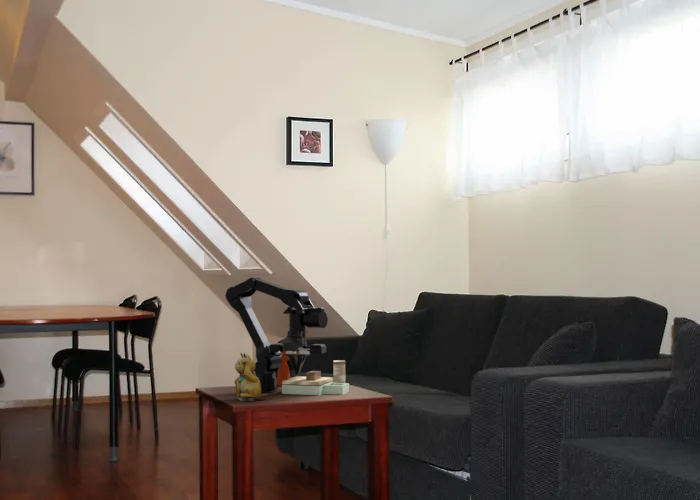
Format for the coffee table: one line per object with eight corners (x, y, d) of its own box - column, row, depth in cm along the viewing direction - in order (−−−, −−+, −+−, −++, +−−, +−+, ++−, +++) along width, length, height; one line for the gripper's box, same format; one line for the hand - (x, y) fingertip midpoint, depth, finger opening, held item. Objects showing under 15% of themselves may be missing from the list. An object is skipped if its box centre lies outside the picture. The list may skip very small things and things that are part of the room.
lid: (282, 384, 279) (282, 373, 279) (297, 379, 293) (297, 368, 293) (319, 385, 275) (319, 374, 276) (333, 380, 289) (333, 369, 289)
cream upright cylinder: (333, 390, 293) (333, 361, 294) (333, 389, 297) (333, 360, 298) (345, 390, 293) (345, 361, 294) (345, 389, 298) (345, 360, 298)
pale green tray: (282, 396, 279) (282, 384, 279) (297, 391, 293) (297, 379, 293) (339, 398, 273) (339, 387, 274) (352, 393, 287) (351, 381, 287)
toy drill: (326, 381, 308) (320, 340, 308) (274, 388, 307) (268, 347, 307) (325, 379, 312) (320, 339, 313) (274, 386, 312) (269, 345, 312)
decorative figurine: (231, 398, 276) (231, 351, 276) (256, 396, 279) (256, 350, 280) (240, 402, 267) (240, 354, 268) (265, 400, 271) (265, 353, 271)
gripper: (262, 328, 281) (262, 376, 280) (315, 329, 275) (316, 378, 275) (275, 326, 291) (275, 372, 291) (326, 327, 286) (327, 374, 285)
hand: (297, 374), depth 285 cm, fingers closed
